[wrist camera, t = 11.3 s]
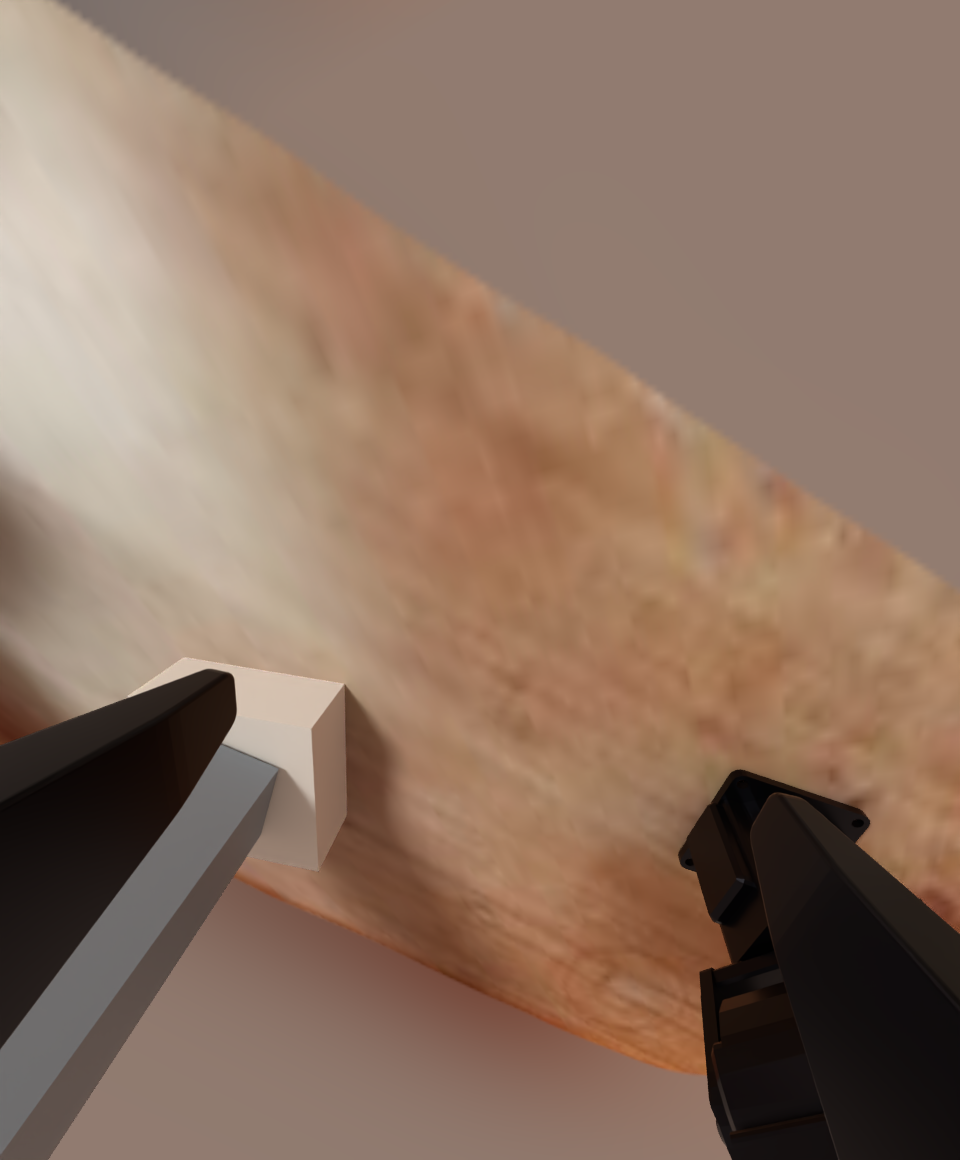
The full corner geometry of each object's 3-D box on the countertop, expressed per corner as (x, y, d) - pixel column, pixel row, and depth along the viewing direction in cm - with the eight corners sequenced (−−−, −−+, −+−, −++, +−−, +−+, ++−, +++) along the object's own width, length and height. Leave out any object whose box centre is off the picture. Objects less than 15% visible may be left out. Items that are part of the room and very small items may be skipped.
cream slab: (347, 679, 25) (311, 728, 21) (349, 809, 28) (318, 871, 24) (188, 653, 26) (127, 696, 22) (208, 782, 29) (158, 838, 25)
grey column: (278, 768, 22) (-54, 1230, 10) (260, 835, 24) (-32, 1281, 12) (178, 726, 22) (-275, 1140, 10) (168, 796, 24) (-215, 1207, 12)
